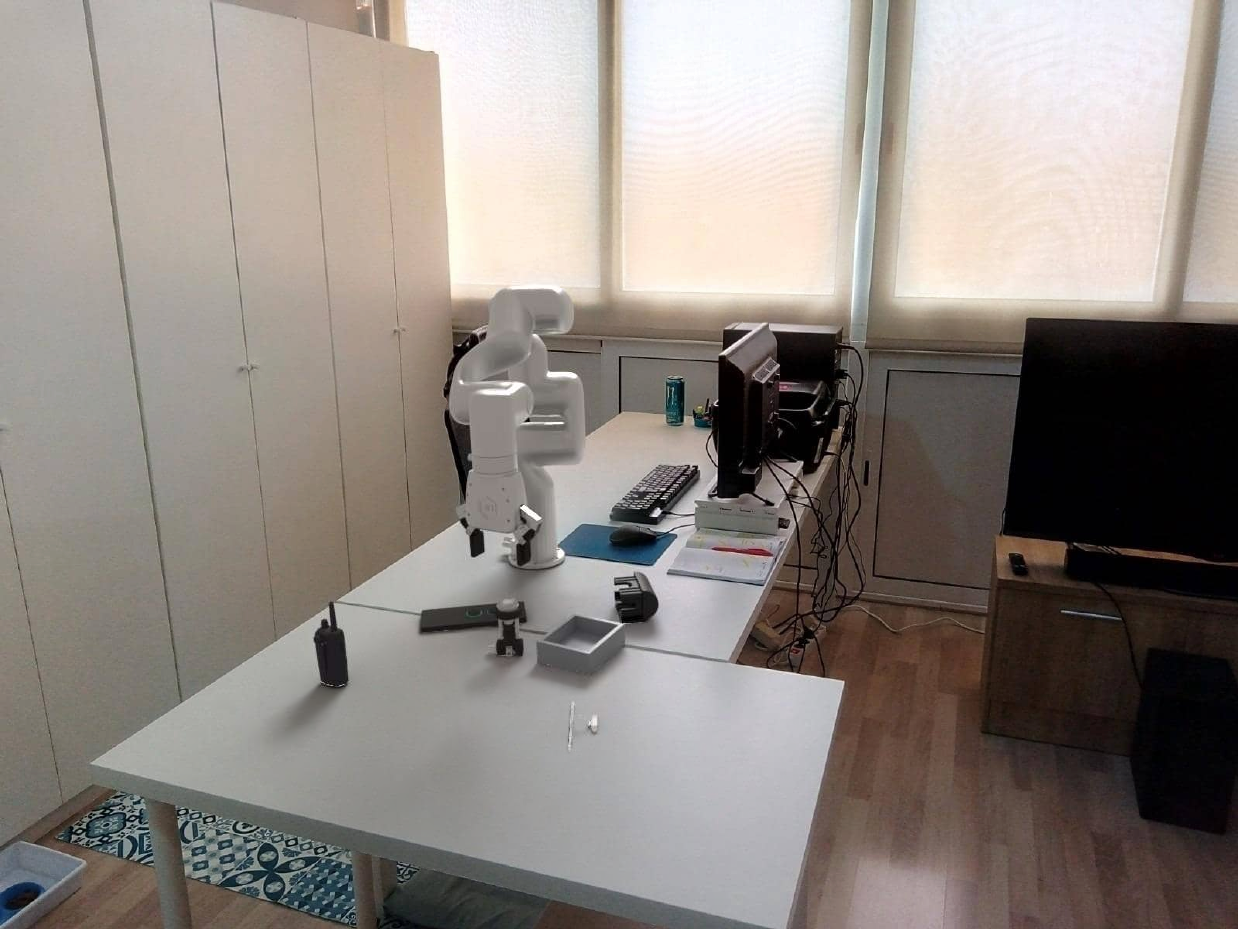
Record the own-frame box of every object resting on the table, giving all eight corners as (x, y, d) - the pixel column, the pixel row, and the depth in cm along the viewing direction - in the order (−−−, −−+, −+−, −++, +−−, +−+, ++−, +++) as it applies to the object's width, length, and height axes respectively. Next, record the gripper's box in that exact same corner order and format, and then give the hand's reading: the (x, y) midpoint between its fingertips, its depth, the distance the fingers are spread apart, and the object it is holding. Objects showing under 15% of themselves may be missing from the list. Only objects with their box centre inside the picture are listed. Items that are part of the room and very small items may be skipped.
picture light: (570, 703, 143) (570, 692, 142) (598, 703, 143) (597, 691, 142) (566, 755, 129) (566, 742, 129) (596, 755, 129) (596, 742, 129)
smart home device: (527, 617, 170) (419, 627, 167) (527, 625, 170) (420, 635, 167) (523, 599, 178) (421, 609, 175) (524, 607, 178) (422, 617, 175)
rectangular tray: (537, 662, 155) (536, 641, 154) (574, 632, 166) (574, 613, 165) (590, 675, 150) (589, 654, 149) (625, 644, 161) (624, 624, 160)
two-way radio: (354, 682, 150) (344, 600, 146) (333, 694, 146) (323, 610, 142) (331, 675, 153) (321, 594, 149) (310, 686, 149) (299, 604, 145)
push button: (486, 661, 156) (482, 608, 153) (490, 647, 161) (486, 595, 159) (524, 660, 156) (521, 607, 153) (526, 646, 161) (524, 595, 159)
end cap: (659, 622, 170) (658, 589, 168) (622, 625, 169) (621, 592, 167) (649, 601, 179) (648, 569, 177) (614, 604, 178) (613, 572, 176)
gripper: (439, 463, 150) (447, 558, 154) (525, 474, 142) (530, 574, 146) (467, 453, 156) (473, 545, 161) (550, 463, 148) (554, 560, 153)
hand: (500, 559), depth 153 cm, fingers open, 9 cm apart
